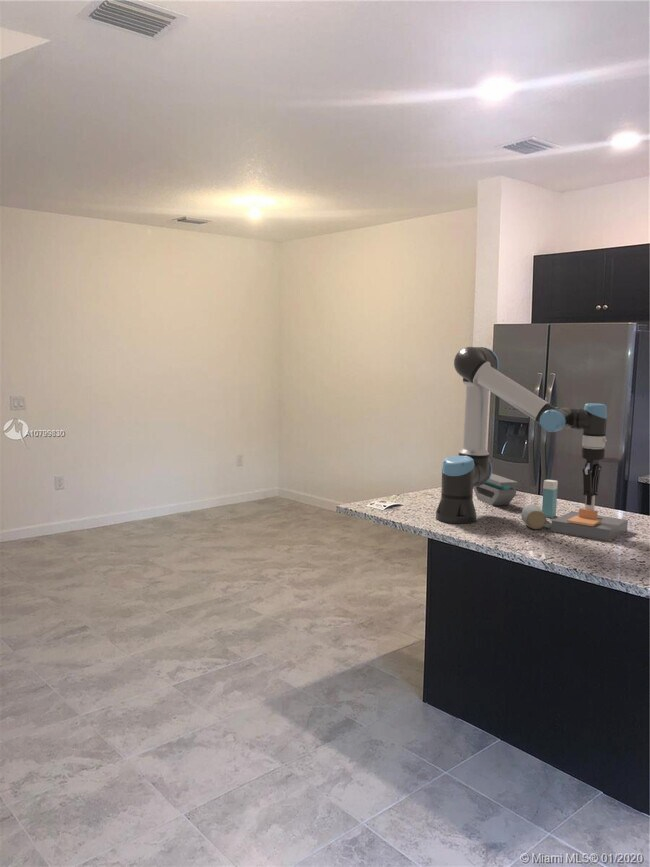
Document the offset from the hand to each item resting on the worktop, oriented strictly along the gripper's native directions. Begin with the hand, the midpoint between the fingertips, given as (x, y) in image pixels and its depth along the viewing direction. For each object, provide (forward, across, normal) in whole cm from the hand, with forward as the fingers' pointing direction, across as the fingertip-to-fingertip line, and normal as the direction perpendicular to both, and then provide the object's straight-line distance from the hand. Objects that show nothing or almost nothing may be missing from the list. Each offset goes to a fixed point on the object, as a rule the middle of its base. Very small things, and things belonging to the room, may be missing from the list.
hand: (589, 513), depth 247 cm
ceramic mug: (+7, -7, +16) cm, 19 cm away
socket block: (+7, +1, 0) cm, 7 cm away
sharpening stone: (+7, +23, +48) cm, 53 cm away
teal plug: (+7, +14, +20) cm, 25 cm away
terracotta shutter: (+2, -5, 0) cm, 5 cm away
